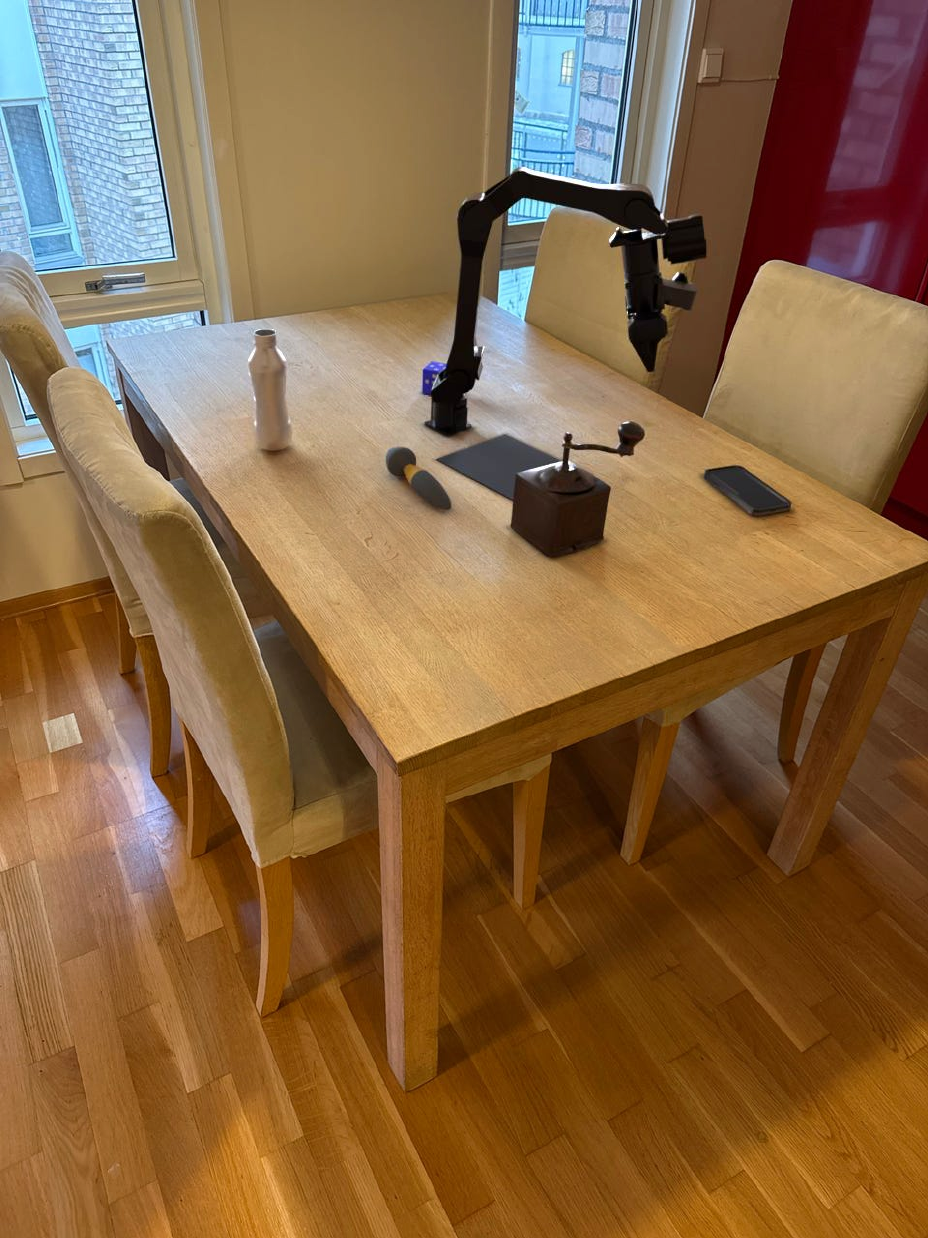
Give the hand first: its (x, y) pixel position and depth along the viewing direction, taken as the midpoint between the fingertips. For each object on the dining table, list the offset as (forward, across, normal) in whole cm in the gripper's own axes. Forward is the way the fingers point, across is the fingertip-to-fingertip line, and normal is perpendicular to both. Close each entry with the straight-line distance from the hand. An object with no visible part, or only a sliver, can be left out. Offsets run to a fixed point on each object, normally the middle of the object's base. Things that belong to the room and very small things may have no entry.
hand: (649, 362), depth 155 cm
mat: (+10, -14, +25) cm, 30 cm away
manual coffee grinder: (+12, -34, +15) cm, 39 cm away
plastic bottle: (0, -15, +65) cm, 67 cm away
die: (+6, +17, +42) cm, 45 cm away
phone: (+19, -15, -13) cm, 28 cm away
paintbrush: (+6, -25, +39) cm, 47 cm away
